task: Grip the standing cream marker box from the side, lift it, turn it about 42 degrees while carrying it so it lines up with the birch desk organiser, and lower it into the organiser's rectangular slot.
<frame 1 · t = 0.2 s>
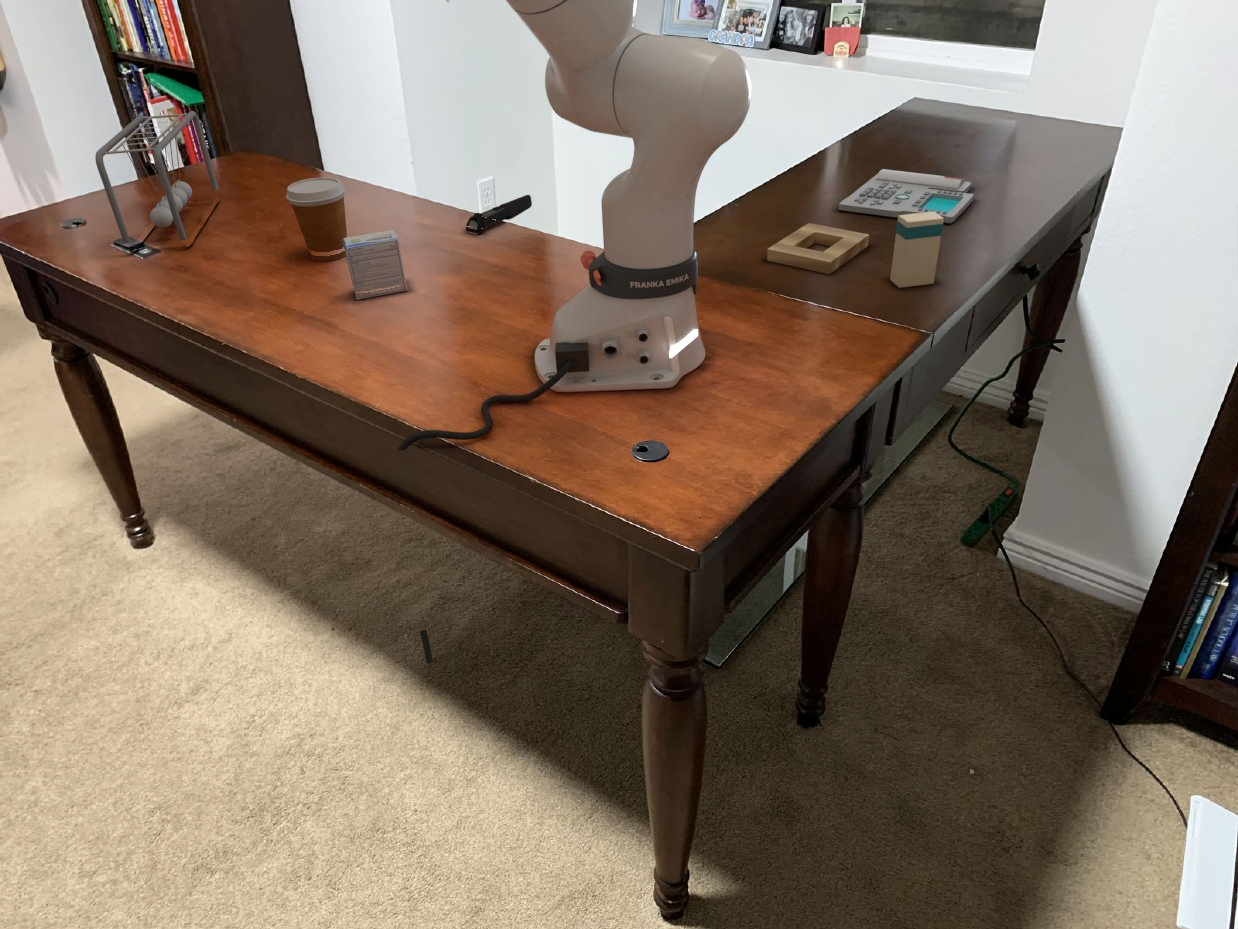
disposable coffee cup: (330, 255, 159), on the table
medicine box: (380, 292, 144), on the table
marker box: (911, 281, 138), on the table
newton's cradle: (178, 226, 175), on the table
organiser: (817, 253, 149), on the table
electric trimmer: (500, 222, 169), on the table
office telephone: (912, 200, 169), on the table
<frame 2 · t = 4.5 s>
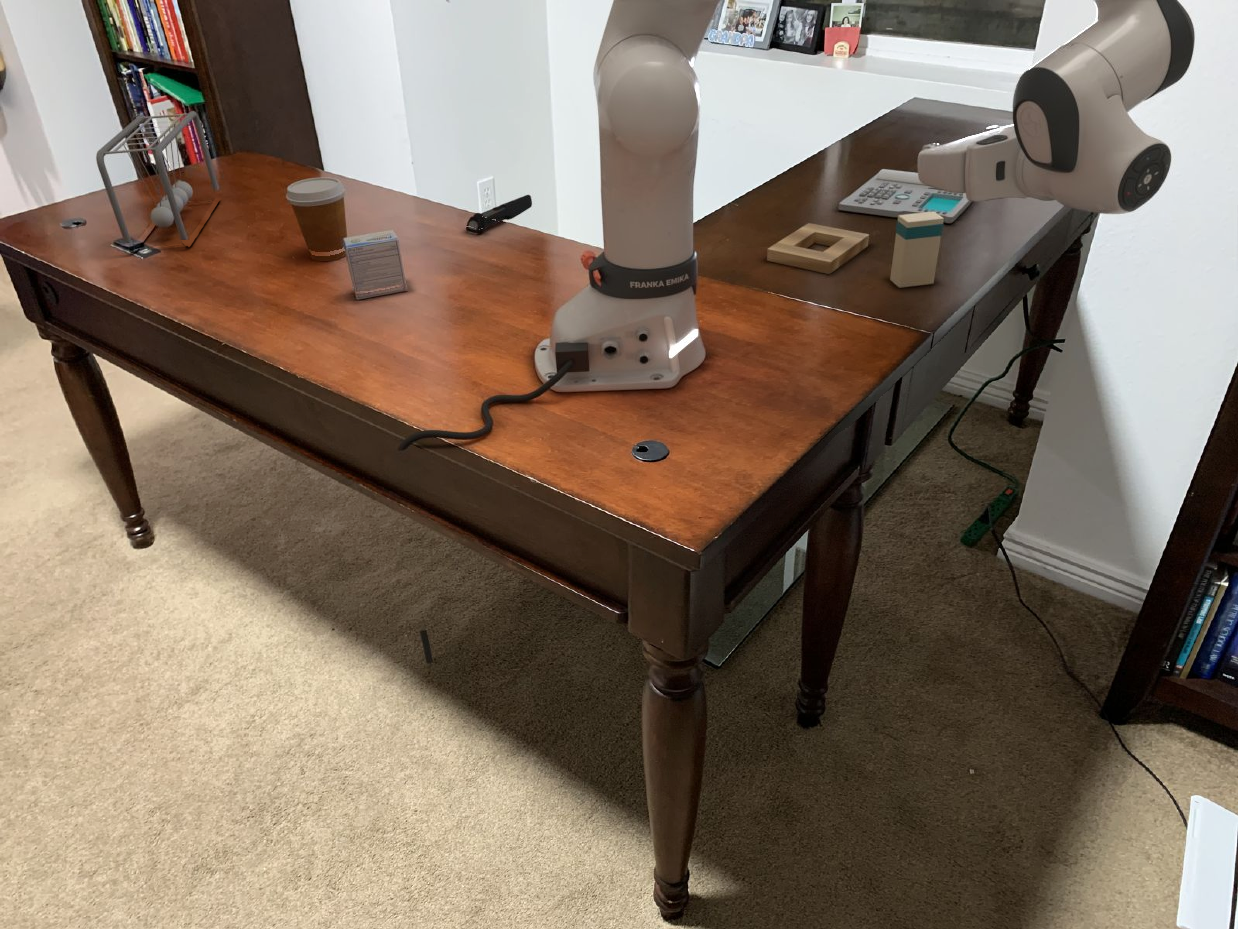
hand: (958, 141, 119), 23 cm above the table, tool horizontal, fingers open, 8 cm apart
nothing on the table moved.
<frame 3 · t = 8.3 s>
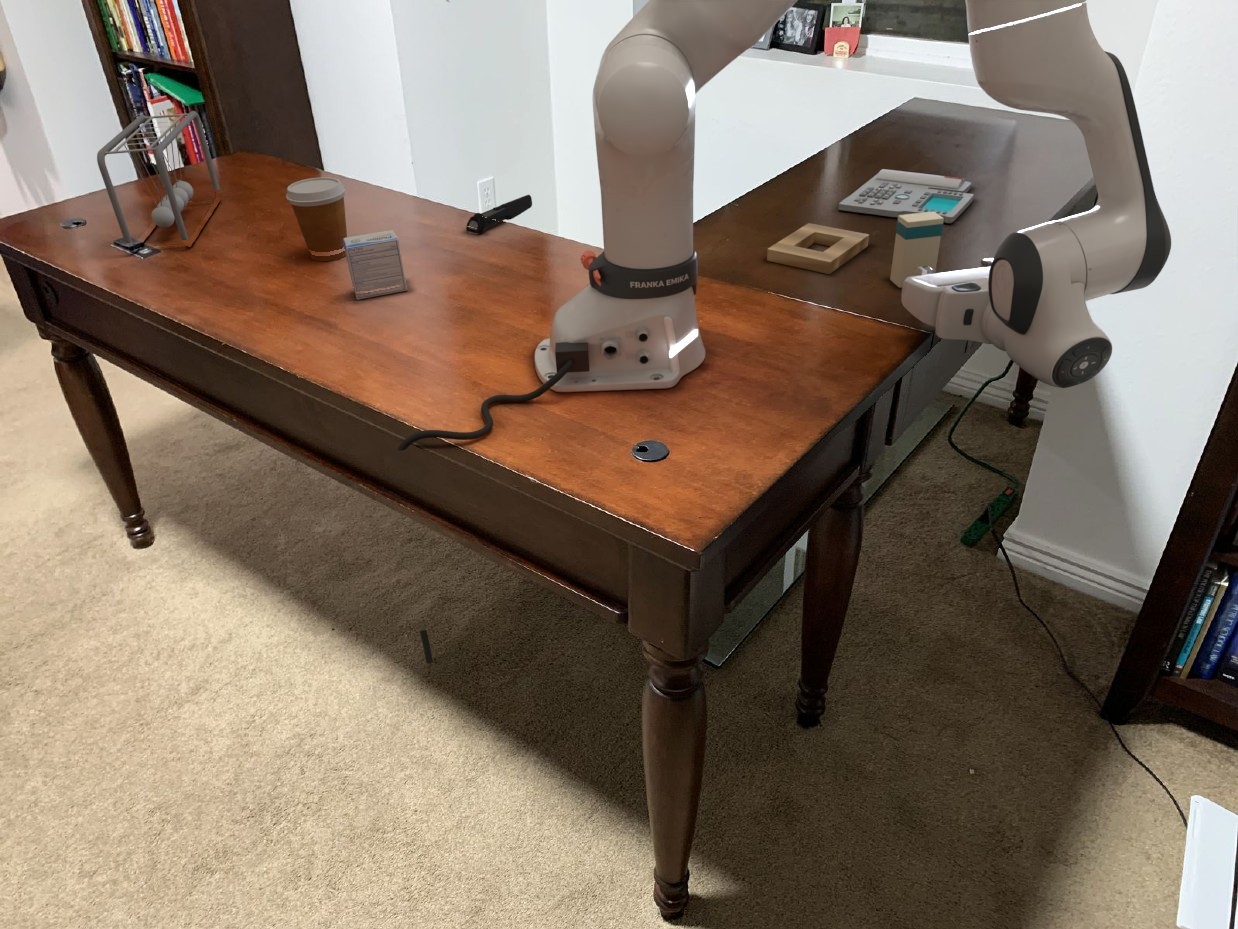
hand: (953, 267, 126), 6 cm above the table, tool horizontal, fingers open, 8 cm apart
nothing on the table moved.
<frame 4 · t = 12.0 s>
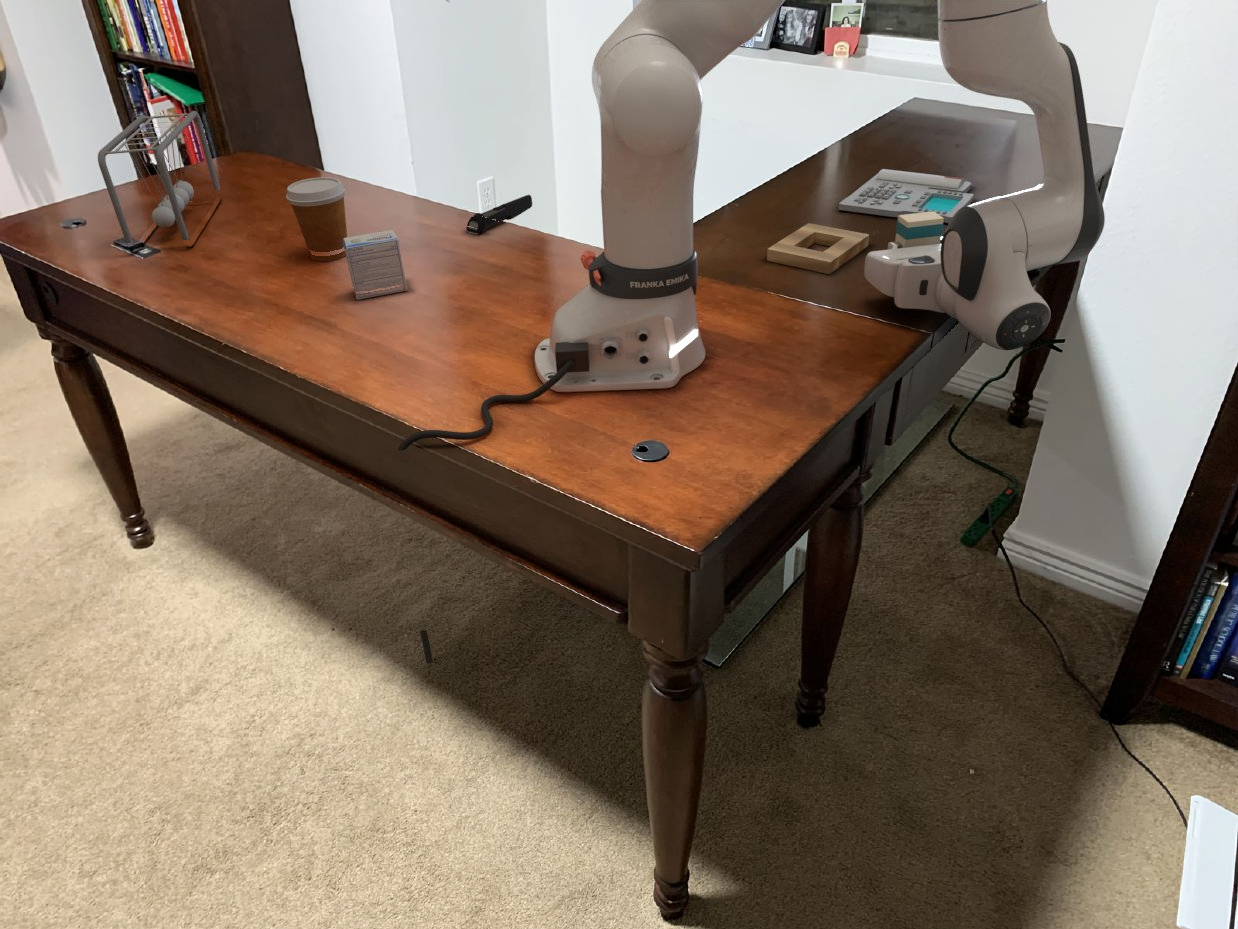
hand: (913, 244, 136), 6 cm above the table, tool horizontal, fingers closed on marker box, 5 cm apart
marker box: (911, 281, 138), on the table, touching gripper
everything else where it was.
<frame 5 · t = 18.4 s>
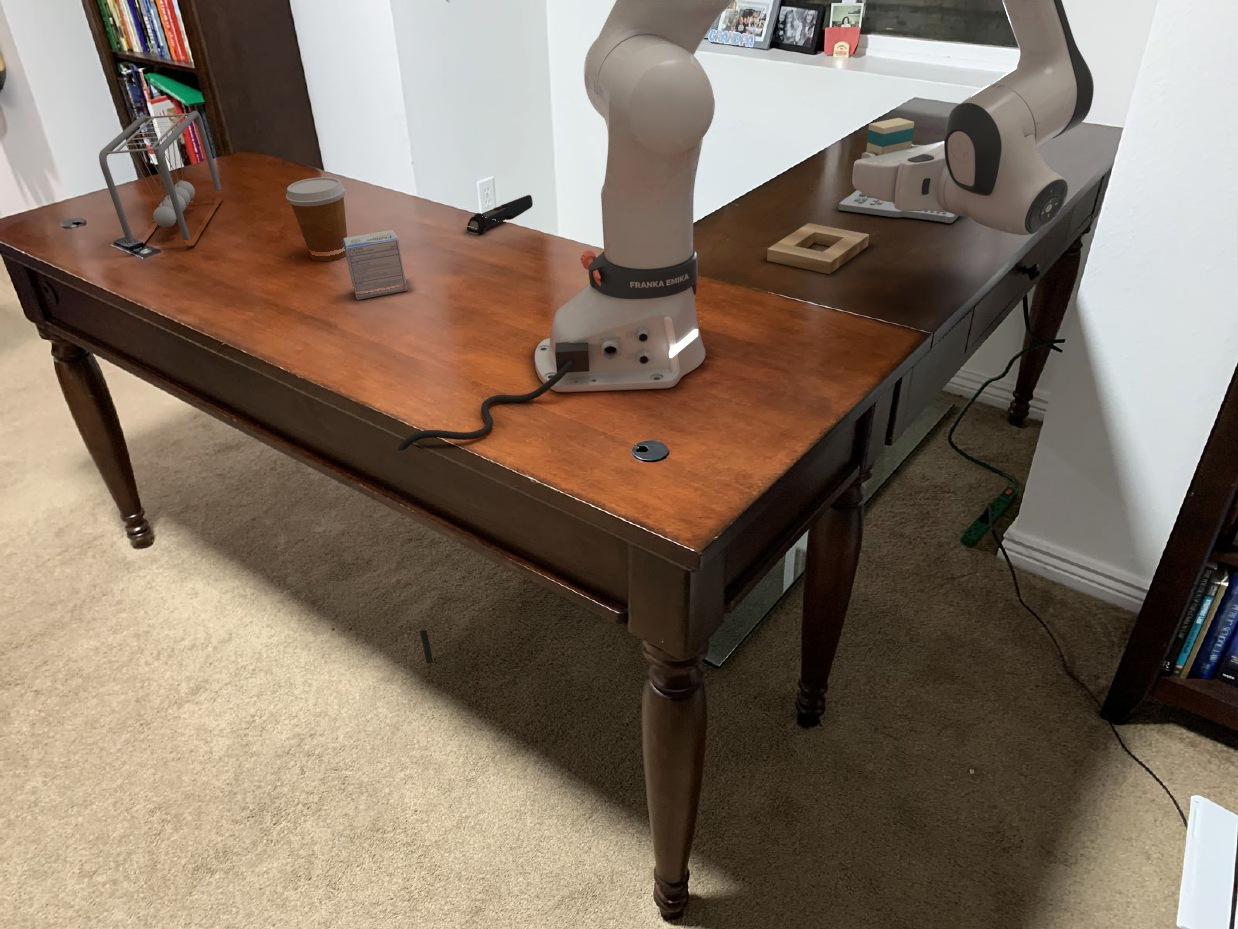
hand: (883, 153, 134), 18 cm above the table, tool horizontal, fingers closed on marker box, 5 cm apart
marker box: (883, 192, 136), point 12 cm above the table, touching gripper
everything else where it was.
when the fingers open (5 cm above the table, at t = 25.4 s): marker box stays where it is, resting in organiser.
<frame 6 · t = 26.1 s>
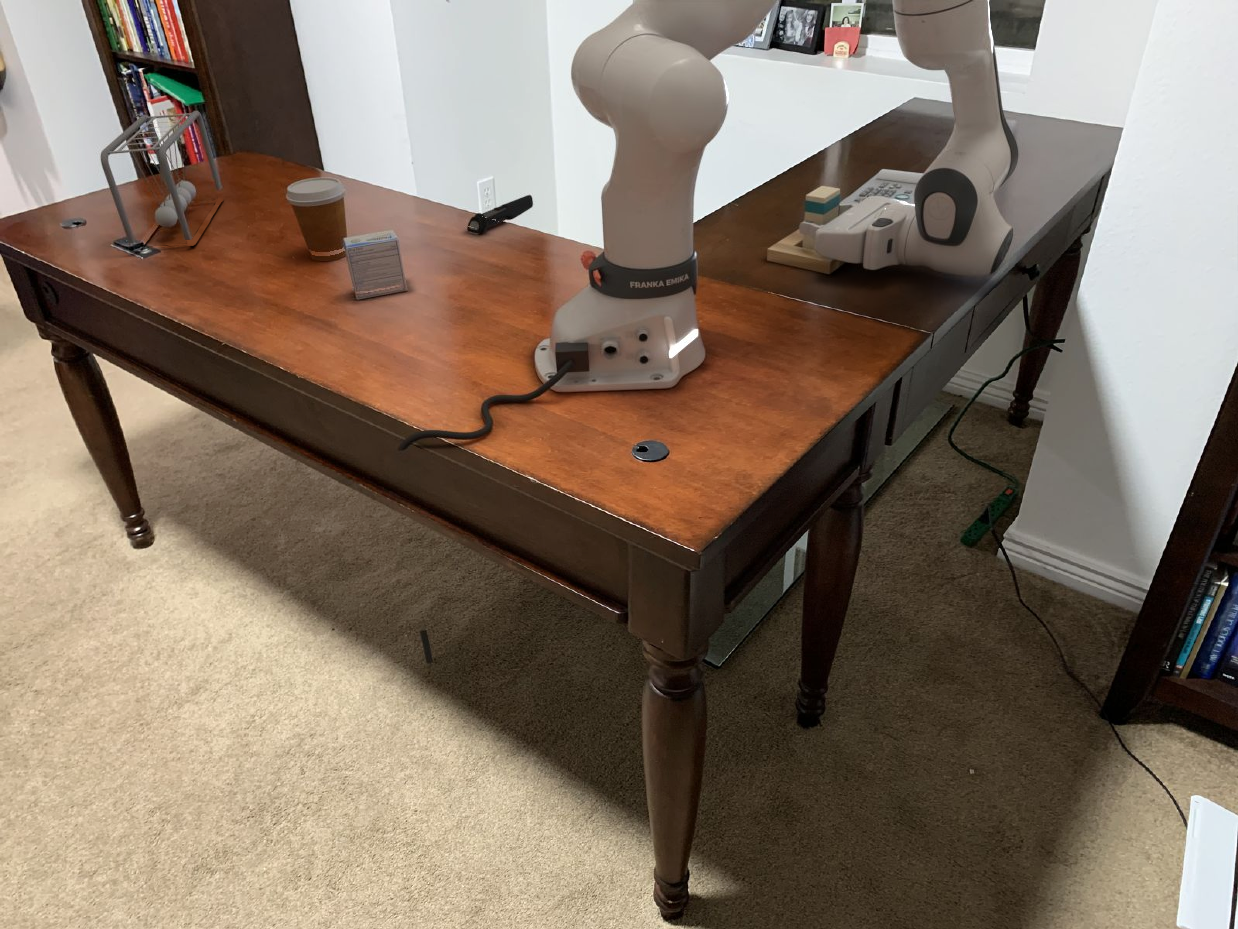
hand: (815, 217, 147), 6 cm above the table, tool horizontal, fingers open, 8 cm apart
marker box: (818, 252, 149), resting in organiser
everything else where it was.
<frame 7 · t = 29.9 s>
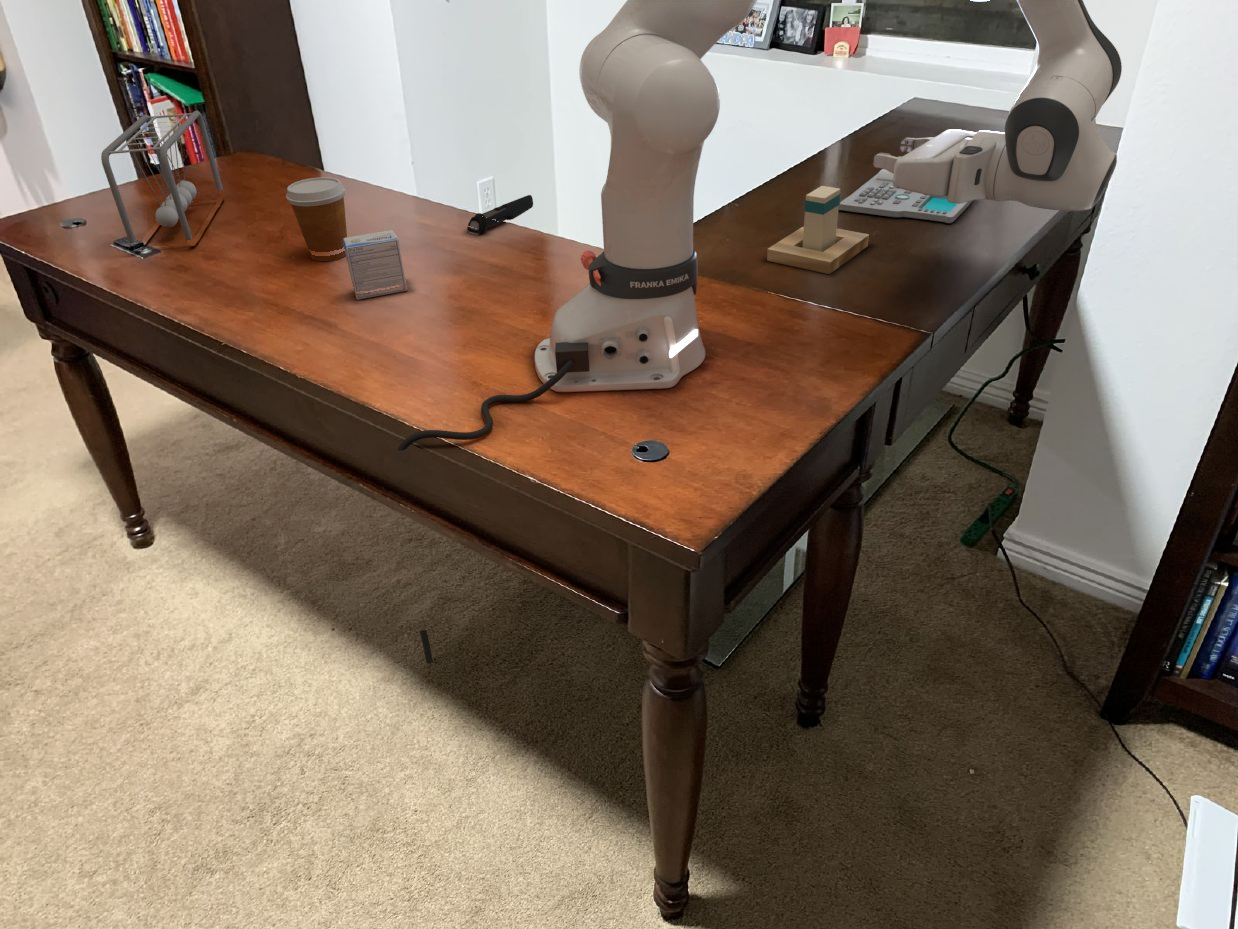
hand: (889, 151, 134), 17 cm above the table, tool horizontal, fingers open, 8 cm apart
nothing on the table moved.
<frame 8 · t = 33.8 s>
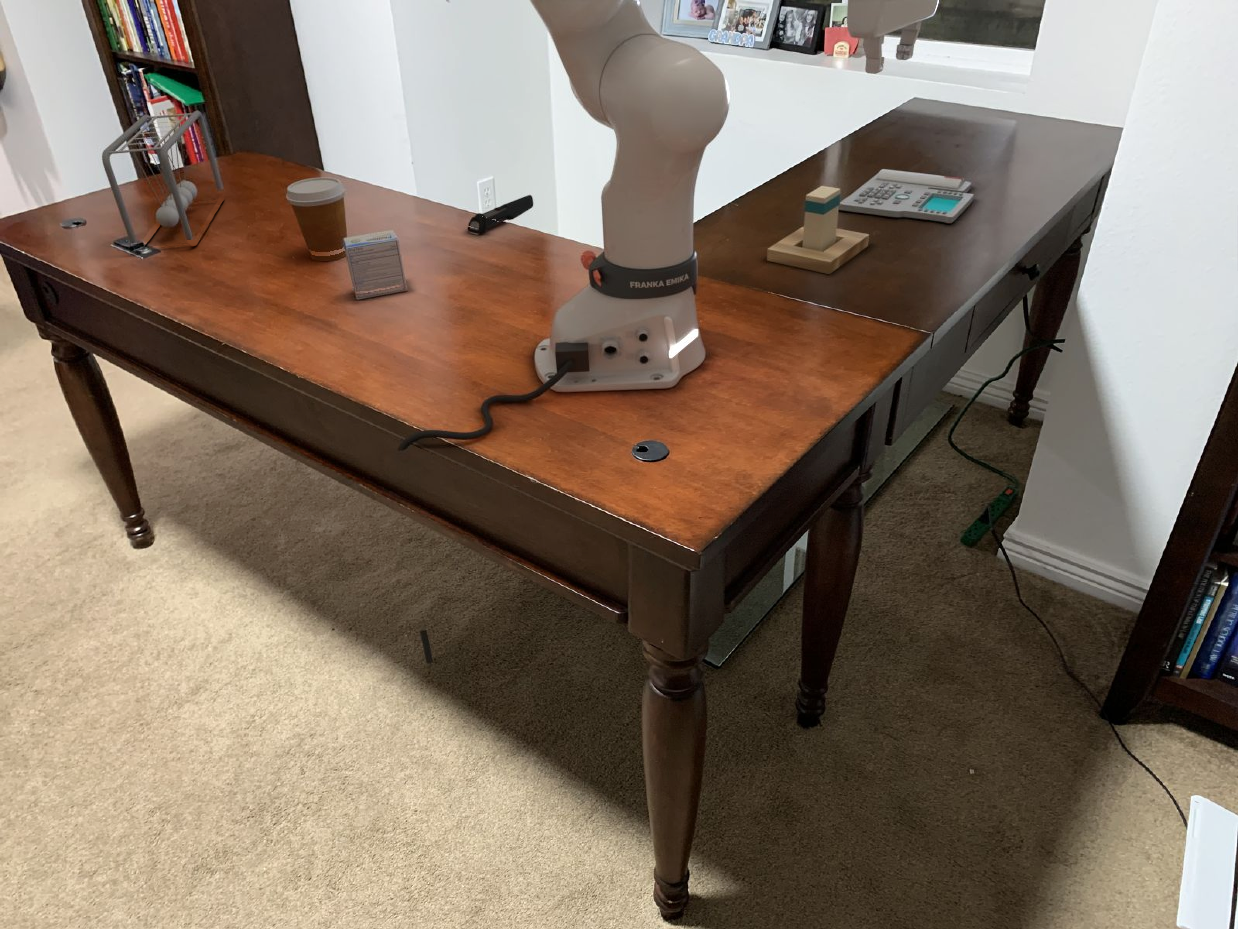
hand: (889, 65, 119), 31 cm above the table, tool pointing down, fingers open, 8 cm apart
nothing on the table moved.
at the end: marker box 0.1 cm off-centre on the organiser, point 0.0 cm above the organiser's base; marker box tilted 0°; the gripper is holding nothing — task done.
